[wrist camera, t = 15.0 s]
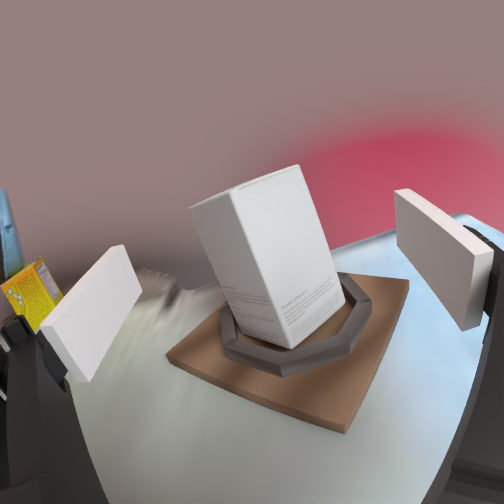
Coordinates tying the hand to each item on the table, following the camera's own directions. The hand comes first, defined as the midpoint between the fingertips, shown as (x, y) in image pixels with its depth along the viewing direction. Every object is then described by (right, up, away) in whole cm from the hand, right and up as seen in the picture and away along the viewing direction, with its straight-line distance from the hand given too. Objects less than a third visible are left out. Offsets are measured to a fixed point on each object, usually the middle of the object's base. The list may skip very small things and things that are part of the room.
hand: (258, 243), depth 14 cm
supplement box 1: (-26, -12, +22) cm, 37 cm away
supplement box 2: (+3, -7, +14) cm, 15 cm away
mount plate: (+4, -8, +15) cm, 17 cm away
